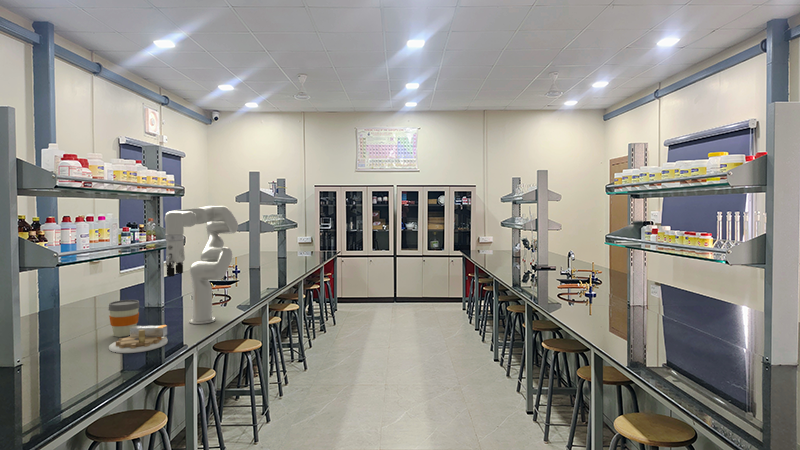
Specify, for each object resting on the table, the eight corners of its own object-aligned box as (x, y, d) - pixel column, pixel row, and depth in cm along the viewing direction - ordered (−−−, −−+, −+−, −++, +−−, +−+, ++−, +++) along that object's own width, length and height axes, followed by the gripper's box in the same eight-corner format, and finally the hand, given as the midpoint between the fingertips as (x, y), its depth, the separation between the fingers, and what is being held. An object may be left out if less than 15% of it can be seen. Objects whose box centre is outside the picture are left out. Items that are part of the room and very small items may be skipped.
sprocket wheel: (112, 341, 197) (112, 326, 196) (156, 334, 208) (156, 320, 207) (119, 351, 183) (119, 335, 183) (165, 343, 195) (165, 328, 194)
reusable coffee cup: (123, 329, 220) (123, 299, 219) (146, 331, 217) (145, 300, 217) (102, 336, 207) (101, 304, 207) (125, 338, 205) (125, 305, 204)
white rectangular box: (134, 334, 202) (134, 325, 201) (167, 334, 203) (167, 325, 203) (130, 337, 198) (129, 328, 197) (163, 336, 199) (163, 327, 199)
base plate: (125, 338, 206) (125, 334, 206) (175, 337, 207) (175, 334, 207) (97, 353, 184) (97, 350, 184) (153, 352, 186) (153, 349, 186)
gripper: (175, 239, 202) (175, 277, 203) (190, 237, 219) (190, 272, 220) (158, 239, 202) (158, 277, 202) (174, 237, 219) (174, 272, 219)
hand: (175, 274), depth 211 cm, fingers open, 9 cm apart
